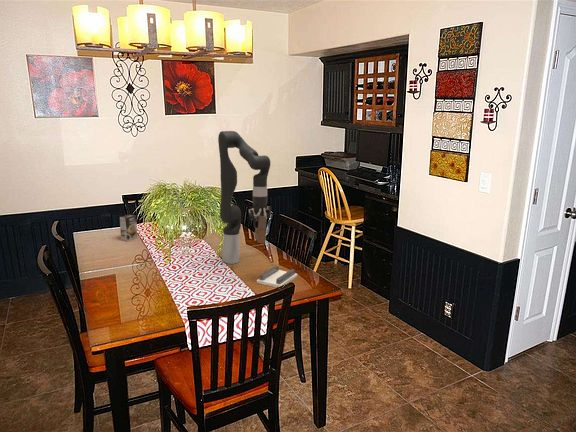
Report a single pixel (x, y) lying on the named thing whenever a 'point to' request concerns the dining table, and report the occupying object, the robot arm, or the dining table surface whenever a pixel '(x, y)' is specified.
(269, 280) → the slotted base
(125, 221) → the coffee box
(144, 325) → the dining table surface
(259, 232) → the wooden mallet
